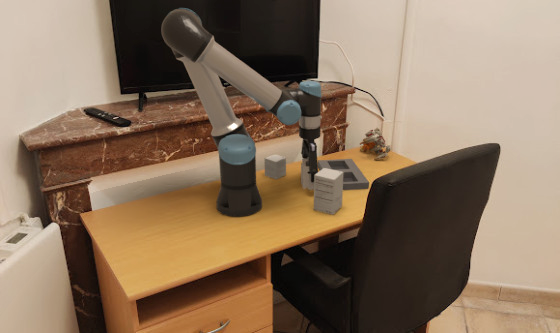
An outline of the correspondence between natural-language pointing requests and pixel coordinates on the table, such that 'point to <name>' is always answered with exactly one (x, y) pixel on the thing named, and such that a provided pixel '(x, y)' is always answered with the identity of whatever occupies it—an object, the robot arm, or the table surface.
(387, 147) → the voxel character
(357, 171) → the dark grey compartment tray
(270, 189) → the table surface
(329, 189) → the supplement box
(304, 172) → the plug
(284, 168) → the product box
